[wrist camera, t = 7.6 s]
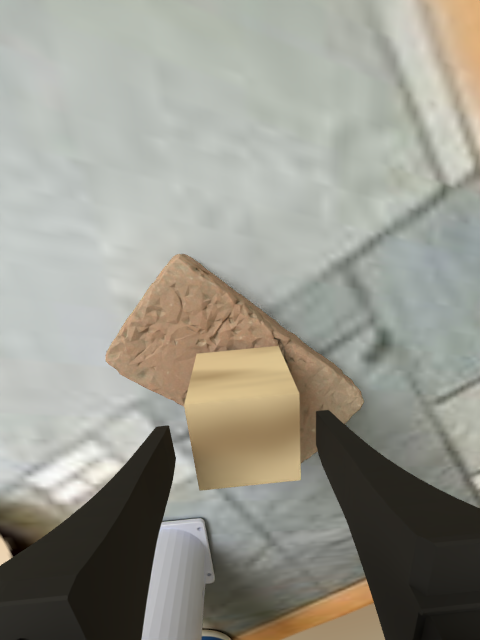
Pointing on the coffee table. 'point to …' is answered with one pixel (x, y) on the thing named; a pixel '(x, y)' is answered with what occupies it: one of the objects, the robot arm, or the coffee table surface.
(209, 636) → the beverage bottle
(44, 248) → the coffee table surface
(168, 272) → the brick
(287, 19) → the coffee table surface
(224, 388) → the oak cube
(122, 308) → the coffee table surface
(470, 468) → the coffee table surface
